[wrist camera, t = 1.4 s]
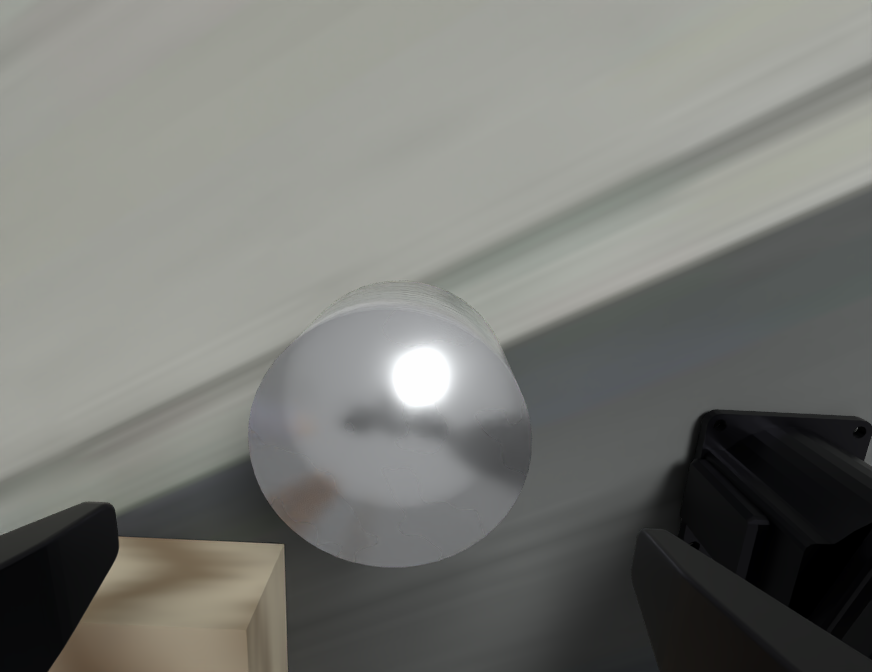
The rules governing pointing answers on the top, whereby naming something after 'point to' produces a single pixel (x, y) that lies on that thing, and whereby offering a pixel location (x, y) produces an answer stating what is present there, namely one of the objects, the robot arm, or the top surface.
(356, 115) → the top surface
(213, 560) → the block
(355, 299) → the silver metal cylinder
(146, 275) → the top surface
